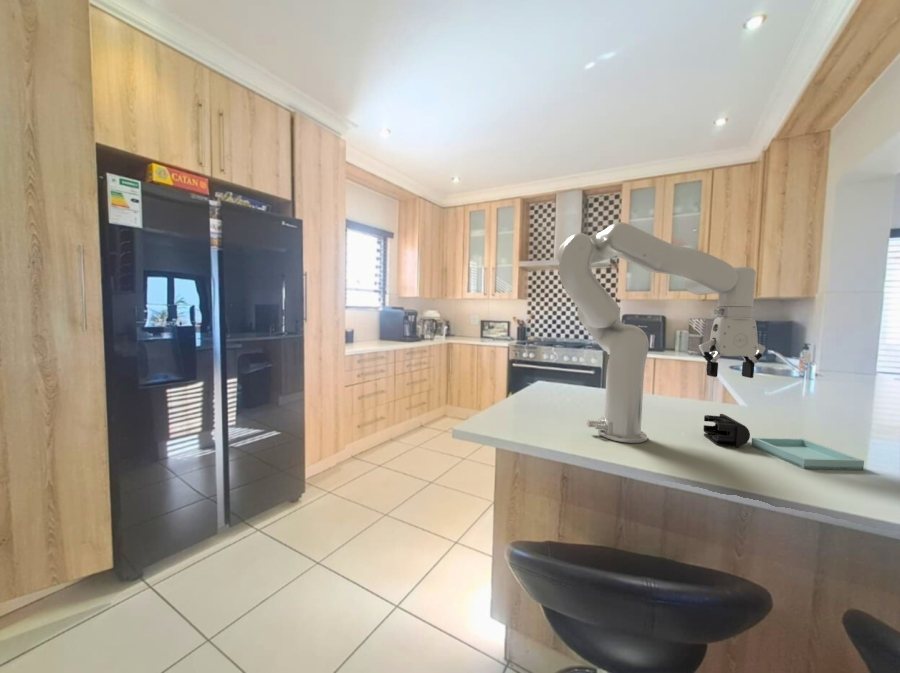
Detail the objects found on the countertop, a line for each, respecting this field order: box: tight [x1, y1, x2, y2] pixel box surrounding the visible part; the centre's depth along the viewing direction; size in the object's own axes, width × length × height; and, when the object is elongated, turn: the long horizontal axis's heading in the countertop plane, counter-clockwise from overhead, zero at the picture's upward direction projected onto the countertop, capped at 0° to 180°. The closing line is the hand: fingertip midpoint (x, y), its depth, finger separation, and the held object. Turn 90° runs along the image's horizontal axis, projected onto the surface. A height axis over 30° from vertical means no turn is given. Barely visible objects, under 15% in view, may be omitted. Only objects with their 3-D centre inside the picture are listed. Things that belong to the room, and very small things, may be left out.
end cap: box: [702, 413, 751, 449], centre depth 101 cm, size 10×7×7 cm
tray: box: [751, 437, 865, 471], centre depth 91 cm, size 14×15×2 cm
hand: (729, 376), depth 100 cm, fingers open, 9 cm apart
